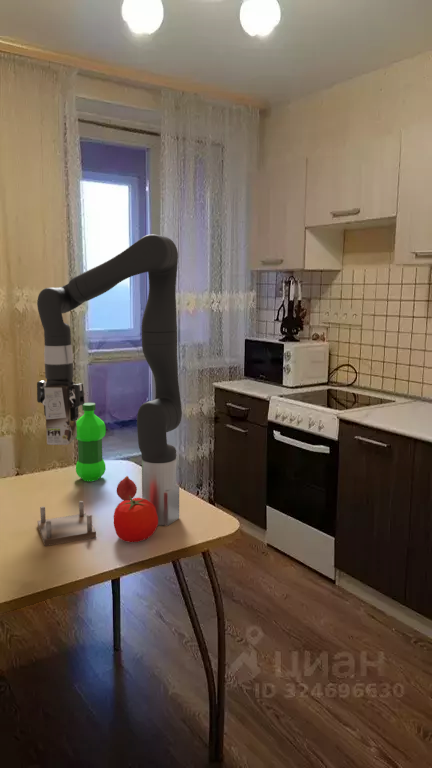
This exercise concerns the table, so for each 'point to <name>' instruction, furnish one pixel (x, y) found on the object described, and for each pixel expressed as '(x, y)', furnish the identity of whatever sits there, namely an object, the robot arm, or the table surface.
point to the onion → (126, 489)
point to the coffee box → (59, 415)
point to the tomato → (135, 520)
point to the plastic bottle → (90, 444)
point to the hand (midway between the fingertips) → (61, 419)
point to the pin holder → (66, 527)
